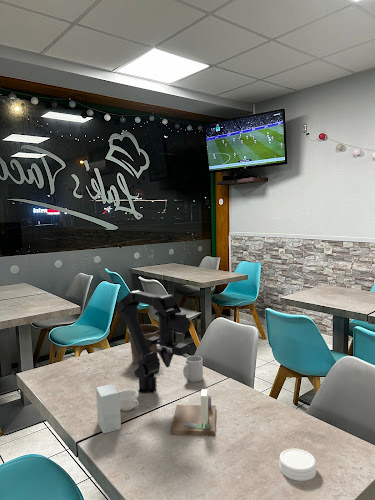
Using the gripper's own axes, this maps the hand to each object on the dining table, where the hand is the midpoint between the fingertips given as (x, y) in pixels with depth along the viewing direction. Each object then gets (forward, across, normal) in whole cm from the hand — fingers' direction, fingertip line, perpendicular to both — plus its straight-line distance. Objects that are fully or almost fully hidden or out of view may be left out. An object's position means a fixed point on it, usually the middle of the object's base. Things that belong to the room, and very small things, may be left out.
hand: (167, 366), depth 152 cm
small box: (+13, +3, +27) cm, 30 cm away
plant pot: (+13, +36, -22) cm, 45 cm away
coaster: (+14, -57, +9) cm, 59 cm away
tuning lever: (+11, -21, +4) cm, 25 cm away
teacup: (+13, +7, +15) cm, 21 cm away
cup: (+13, +4, -19) cm, 24 cm away
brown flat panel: (+13, -18, +7) cm, 24 cm away
